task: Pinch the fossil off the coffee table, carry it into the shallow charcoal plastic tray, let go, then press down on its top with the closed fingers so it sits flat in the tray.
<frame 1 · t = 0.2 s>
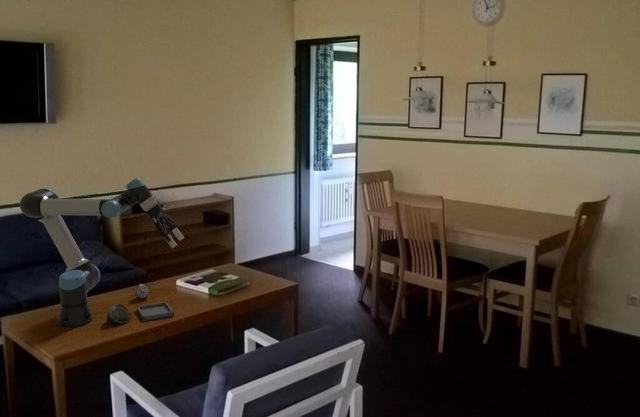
hand: (178, 243, 293), 35 cm above the table, tool tilted 35°, fingers open, 13 cm apart
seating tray: (155, 313, 298), on the table
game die: (142, 298, 319), on the table
fossil: (118, 322, 287), on the table
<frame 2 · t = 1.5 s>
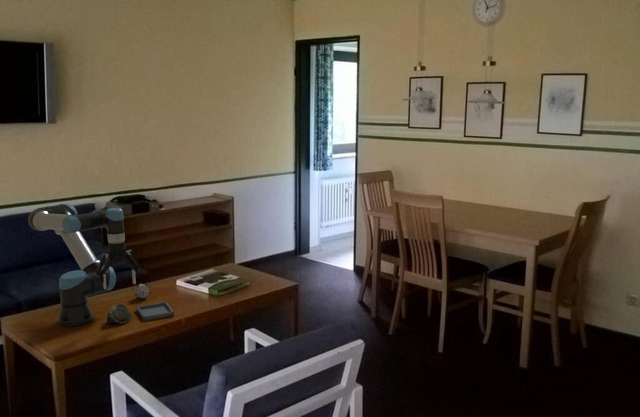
hand: (119, 285, 284), 18 cm above the table, tool pointing down, fingers open, 13 cm apart
nothing on the table moved.
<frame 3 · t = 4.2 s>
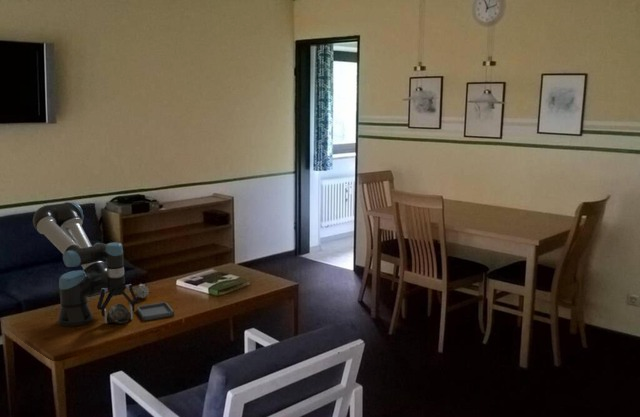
hand: (118, 320, 287), 1 cm above the table, tool pointing down, fingers closed on fossil, 11 cm apart
fossil: (118, 322, 287), on the table, touching gripper
everything else where it was.
when the fingers open (3 cm above the table, at t = 10.7 s): fossil drops 2 cm, resting on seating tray.
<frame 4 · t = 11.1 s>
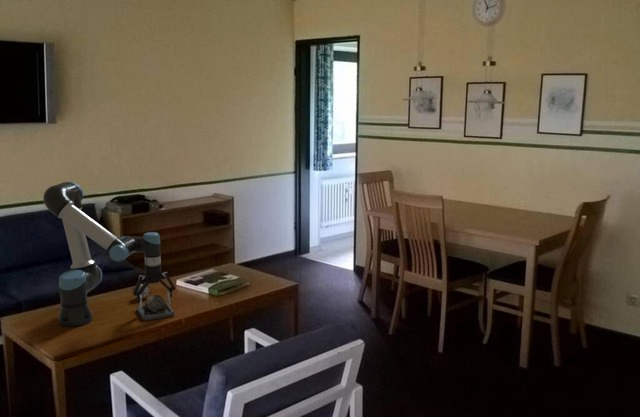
hand: (155, 306, 297), 4 cm above the table, tool pointing down, fingers open, 13 cm apart
fossil: (155, 312, 298), point 1 cm above the table, touching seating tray
everything else where it was.
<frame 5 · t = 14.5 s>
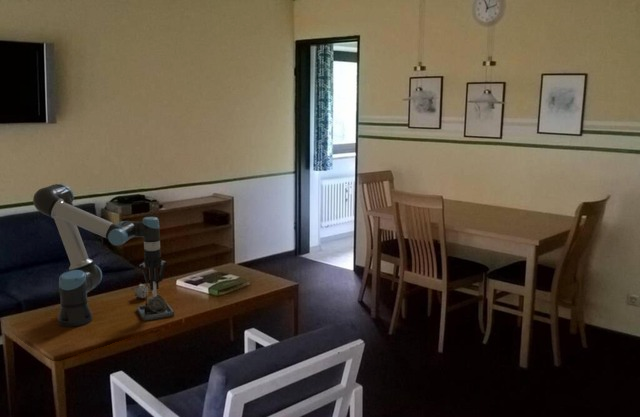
hand: (154, 295, 296), 9 cm above the table, tool pointing down, fingers closed
fossil: (155, 312, 298), point 1 cm above the table, touching gripper, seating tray
everything else where it was.
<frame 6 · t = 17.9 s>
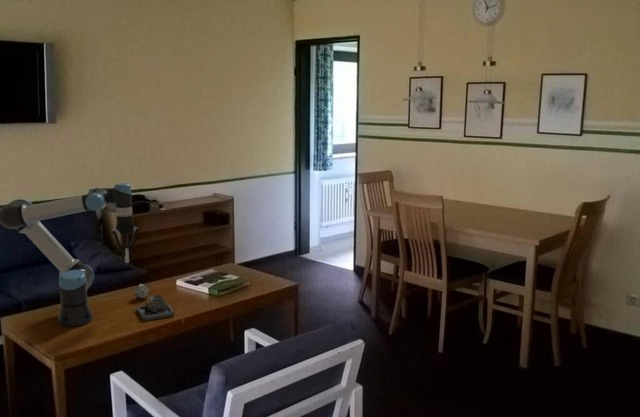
hand: (127, 261, 299), 24 cm above the table, tool pointing down, fingers closed
fossil: (156, 312, 298), point 1 cm above the table, touching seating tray
everything else where it was.
at the end: fossil 0.7 cm off-centre on the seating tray, point 0.6 cm above the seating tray's base; fossil tilted 1°; the gripper is holding nothing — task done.
